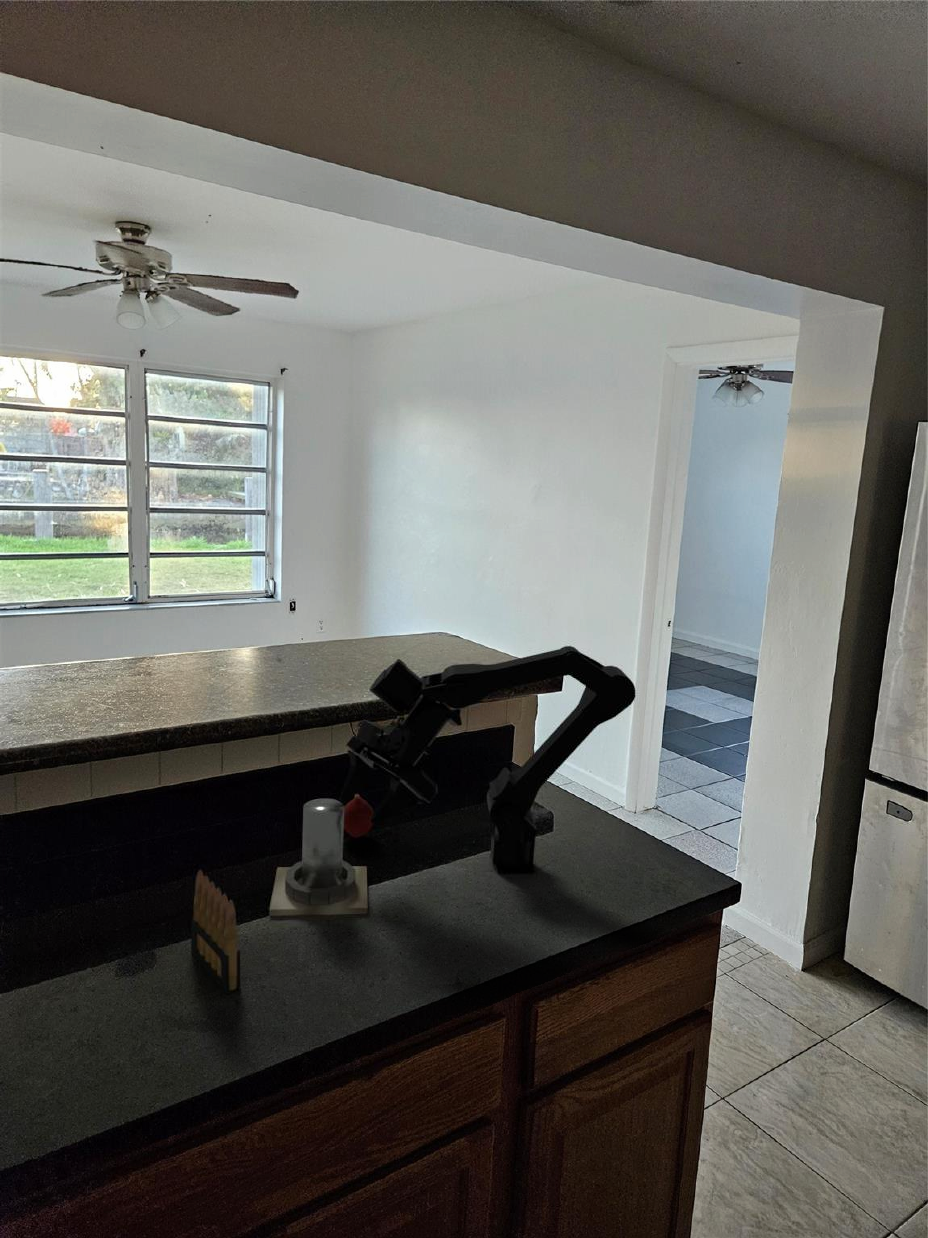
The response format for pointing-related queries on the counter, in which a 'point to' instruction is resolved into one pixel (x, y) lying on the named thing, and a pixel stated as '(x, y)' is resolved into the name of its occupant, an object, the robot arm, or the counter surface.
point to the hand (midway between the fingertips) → (356, 811)
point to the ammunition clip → (215, 934)
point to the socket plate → (319, 893)
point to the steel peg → (322, 843)
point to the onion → (357, 817)
